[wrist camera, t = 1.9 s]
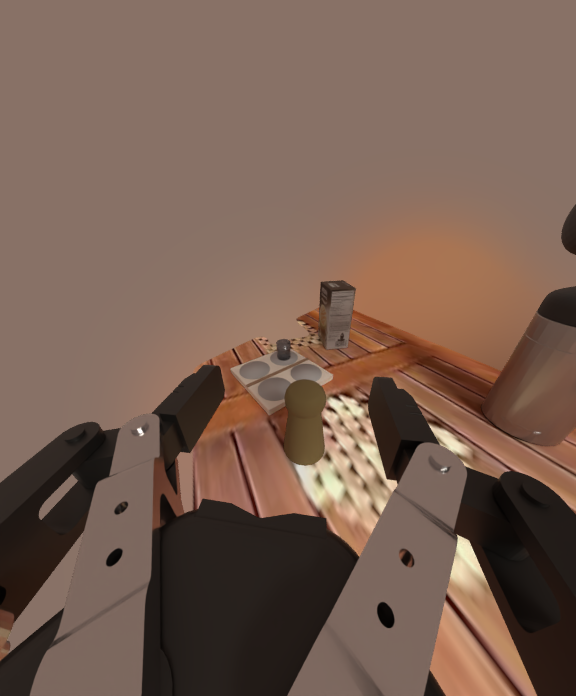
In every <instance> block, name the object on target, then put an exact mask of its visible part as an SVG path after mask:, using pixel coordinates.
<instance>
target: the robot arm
mask: <svg viewBox="0 0 576 696" xmlns="http://www.w3.org/2000/svg"><path fill="white" fill-rule="evenodd" d="M561 239H562V243H563V245H564V247H565V249H567V250H568V251H569V252H570V253H573V254H575V255H576V205H575V206H574V207H573V209H572V210H571V212H570V214H569V215H568V217H567V218H566V221H565V223H564V225H563V229H562V236H561ZM224 392H225V389H224V384H223V379H222V374H221V369H220V367H219V366H214V365H203V366H202V367H201V368H200V369H199V370H198V372H197V373H194V374H192V375H190V376H189V377H187V378H185V379H184V380H183V381H182V382H181V383H180V384H179V385H178V387H177V388H175V390H174V391H173V393H171V394H170V395H169V396H168V397H167V398H166V399H165V400H164V401H163V402H162V403H161V404H160V405H159V406H158V407H157V408H156V409H155V410H154V412H152V414H144V415H140V416H138V417H136V418H133V419H132V420H130V421H129V422H127V423H126V424H125V425H124V426H123V427H122V428H118V429H112V430H106V431H103V430H102V429H101V427H100V426H99V424H98V423H95V422H87V423H83V424H79V425H77V426H75V427H72V428H70V429H68V430H67V431H65V432H63V433H62V434H61V435H59V436H58V437H57V438H56V439H55V440H53V441H52V442H51V443H49V444H48V445H47V446H46V447H44V448H43V449H42V450H41V451H39V452H38V453H37V454H36V455H35V456H33V457H32V458H31V459H29V460H28V461H27V462H26V463H24V464H23V465H22V466H21V467H19V468H18V469H17V470H16V471H14V472H13V473H12V474H11V475H10V476H8V477H7V478H6V479H5V480H3V481H2V482H1V483H0V696H446V695H445V694H444V692H443V690H442V689H441V687H440V686H439V684H438V682H437V681H436V679H435V677H434V676H433V674H432V673H431V671H430V665H431V660H432V656H433V651H434V647H435V642H436V638H437V633H438V629H439V624H440V620H441V615H442V610H443V606H444V601H445V597H446V592H447V588H448V583H449V579H450V574H451V570H452V565H453V561H454V556H455V552H456V547H457V539H458V538H457V535H459V536H461V537H464V538H466V539H468V540H469V541H470V543H471V546H472V548H473V550H474V552H475V555H476V557H477V559H478V562H479V564H480V566H481V568H482V571H483V573H484V575H485V578H486V580H487V582H488V584H489V587H490V589H491V591H492V593H493V596H494V598H495V600H496V603H497V605H498V607H499V609H500V612H501V614H502V616H503V619H504V621H505V623H506V625H507V628H508V630H509V632H510V634H511V637H512V639H513V641H514V644H515V646H516V648H517V650H518V653H519V655H520V657H521V660H522V662H523V664H524V666H525V669H526V671H527V673H528V676H529V678H530V680H531V682H532V685H533V687H534V689H535V691H536V694H537V696H576V514H575V513H574V512H573V511H572V510H571V509H570V507H569V506H568V505H567V504H566V503H565V502H564V501H563V499H562V498H561V497H560V496H559V495H557V494H556V493H555V492H554V491H553V490H552V489H550V488H549V487H548V486H546V485H545V484H543V483H541V482H540V481H538V480H536V479H534V478H532V477H530V476H528V475H525V474H522V473H519V472H513V471H509V472H504V473H503V474H502V475H501V476H500V477H499V479H498V478H495V477H492V476H489V475H487V474H484V473H481V472H478V471H476V470H473V469H470V468H468V467H466V466H464V464H463V462H462V461H461V460H460V459H459V458H458V457H457V456H456V455H455V454H454V453H453V452H451V451H450V450H448V449H447V448H445V447H443V446H441V445H440V444H439V442H438V441H437V439H436V437H435V435H434V434H433V432H432V430H431V428H430V427H429V425H428V423H427V421H426V420H425V418H424V416H423V415H422V413H421V411H420V409H419V408H418V406H417V404H416V402H415V400H414V399H413V397H412V396H411V395H410V394H409V393H407V392H406V391H405V390H404V389H398V388H397V386H396V384H395V382H394V380H393V379H392V378H387V377H374V379H373V383H372V388H371V392H370V397H369V402H368V411H369V415H370V419H371V423H372V426H373V430H374V434H375V438H376V441H377V445H378V449H379V452H380V456H381V460H382V463H383V467H384V471H385V475H386V478H387V479H389V480H397V483H398V485H397V487H396V489H395V490H394V491H393V493H392V495H391V497H390V499H389V501H388V503H387V505H386V507H385V509H384V511H383V513H382V515H381V516H380V518H379V520H378V522H377V524H376V526H375V528H374V530H373V532H372V534H371V536H370V538H369V540H368V542H367V544H366V546H365V548H364V550H363V551H362V553H361V555H360V557H359V556H358V555H357V553H356V552H355V551H354V550H353V549H352V548H351V547H350V546H349V545H348V544H347V543H346V542H345V541H344V540H343V539H342V538H340V537H339V536H337V535H336V534H335V533H333V532H331V531H329V530H327V529H326V518H321V517H315V516H308V515H302V514H296V513H292V514H286V515H279V516H273V517H266V518H258V517H256V516H254V515H252V514H250V513H249V512H247V511H245V510H243V509H241V508H239V507H237V506H235V505H234V504H232V503H226V502H220V501H214V500H208V499H202V502H201V504H200V506H199V508H198V509H196V510H193V511H189V512H187V513H184V510H183V506H182V502H181V495H180V494H181V493H180V482H179V470H178V460H177V458H176V457H177V456H178V454H179V453H180V452H186V453H190V452H191V451H192V449H193V448H194V446H195V444H196V443H197V441H198V439H199V438H200V436H201V434H202V433H203V431H204V429H205V428H206V426H207V424H208V423H209V421H210V419H211V418H212V416H213V415H214V413H215V411H216V410H217V408H218V406H219V405H220V403H221V401H222V400H223V397H224ZM481 409H482V412H483V413H484V415H485V416H486V417H487V418H488V419H489V420H490V421H491V422H492V423H493V424H494V425H496V426H497V427H499V428H500V429H502V430H503V431H505V432H507V433H509V434H510V435H512V436H515V437H517V438H519V439H521V440H524V441H527V442H530V443H534V444H538V445H545V446H555V445H558V444H560V443H561V442H562V441H563V440H564V439H565V438H566V437H567V436H568V435H569V434H570V433H571V432H572V431H573V430H574V429H575V428H576V286H575V287H569V288H563V289H559V290H555V291H553V292H551V293H549V294H548V295H547V296H546V298H545V299H544V300H543V302H542V304H541V305H540V307H539V309H538V311H537V312H536V314H535V315H534V317H533V319H532V320H531V322H530V324H529V326H528V327H527V329H526V331H525V333H524V334H523V336H522V338H521V339H520V341H519V343H518V345H517V346H516V348H515V350H514V351H513V353H512V355H511V356H510V358H509V360H508V362H507V363H506V365H505V366H504V368H503V370H502V372H501V373H500V375H499V377H498V378H497V380H496V382H495V383H494V385H493V387H492V388H491V390H490V392H489V393H488V395H487V397H486V399H485V400H484V402H483V404H482V407H481ZM71 474H73V476H74V477H75V478H76V479H77V480H78V482H77V483H76V484H75V485H74V486H73V487H72V488H71V489H70V490H69V491H68V492H67V493H66V494H65V496H64V497H63V498H62V499H61V500H60V501H59V502H58V503H57V504H56V505H55V506H54V507H53V508H52V509H51V510H50V512H49V513H48V514H47V515H46V516H45V517H44V518H43V519H42V520H40V519H39V510H40V508H41V506H42V505H43V503H44V502H45V501H46V500H47V499H48V498H49V497H50V496H51V494H52V493H54V491H56V490H57V489H58V488H59V486H61V485H62V483H64V482H65V480H67V479H68V477H70V475H71ZM83 531H84V534H83V537H82V542H81V545H80V549H79V553H78V557H77V561H76V565H75V569H74V573H73V576H72V580H71V585H70V588H69V592H68V596H67V600H66V604H65V607H64V608H63V609H62V610H61V611H60V612H58V613H57V614H56V615H55V616H53V617H52V618H51V619H50V620H49V621H47V622H46V623H45V624H44V625H43V626H41V627H40V628H39V629H38V630H36V631H35V632H34V633H33V634H32V635H30V636H29V637H28V638H27V639H26V640H25V641H23V642H22V643H21V644H20V645H18V646H17V647H16V648H15V649H14V650H12V651H11V652H10V653H9V654H8V652H9V650H10V642H9V641H7V639H8V637H9V634H10V632H11V629H12V627H13V623H14V622H15V621H16V619H17V618H18V617H19V615H20V614H21V613H22V611H23V610H24V609H25V608H26V606H27V605H28V604H29V602H30V601H31V600H32V598H33V597H34V596H35V595H36V593H37V592H38V591H39V589H40V588H41V587H42V585H43V584H44V583H45V581H46V580H47V579H48V577H49V576H50V575H51V573H52V572H53V571H54V569H55V568H56V567H57V565H58V564H59V563H60V562H61V560H62V559H63V558H64V556H65V555H66V554H67V552H68V551H69V550H70V548H71V547H72V546H73V544H74V543H75V542H76V540H77V539H78V538H79V537H80V535H81V534H82V533H83ZM456 534H457V535H456Z"/></svg>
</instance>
